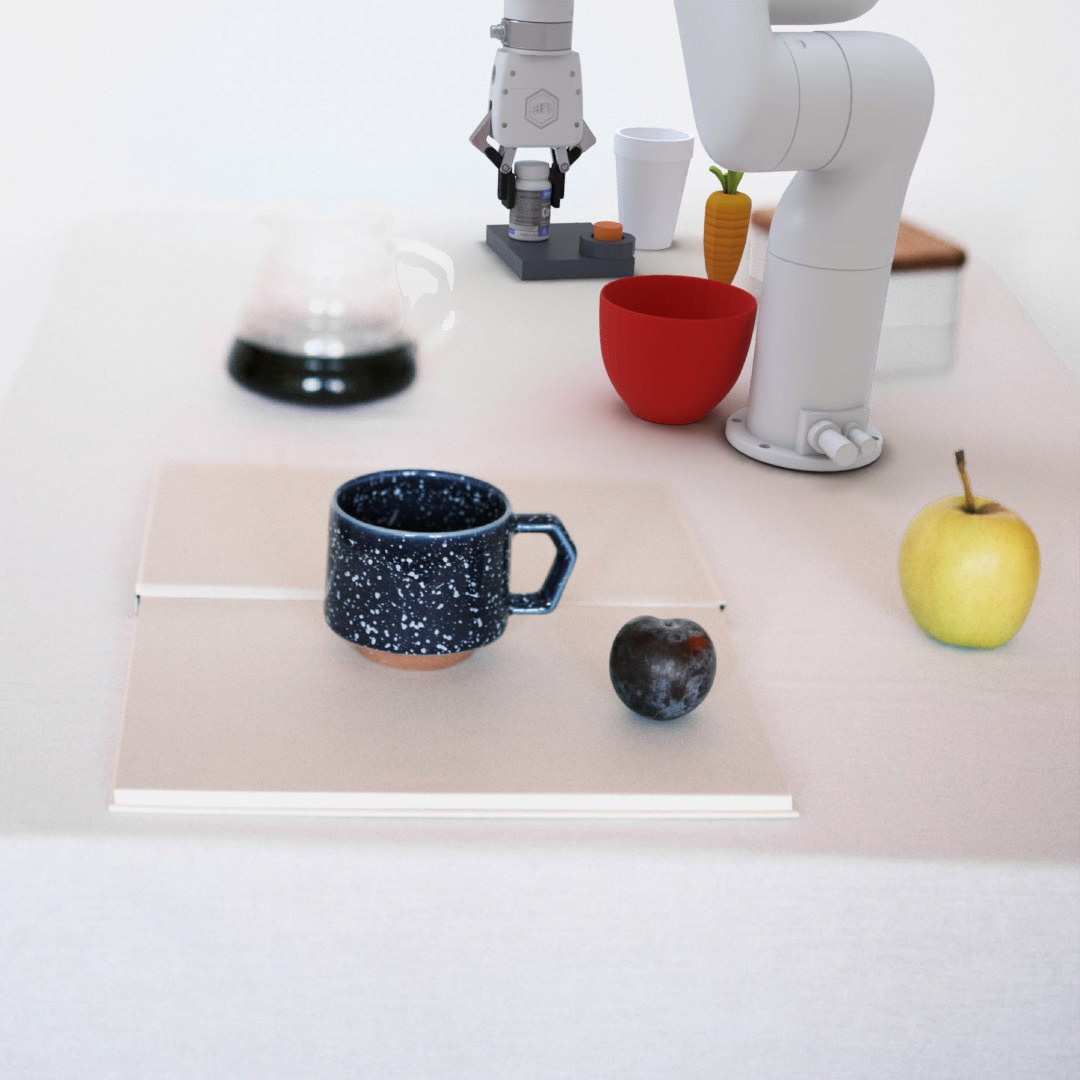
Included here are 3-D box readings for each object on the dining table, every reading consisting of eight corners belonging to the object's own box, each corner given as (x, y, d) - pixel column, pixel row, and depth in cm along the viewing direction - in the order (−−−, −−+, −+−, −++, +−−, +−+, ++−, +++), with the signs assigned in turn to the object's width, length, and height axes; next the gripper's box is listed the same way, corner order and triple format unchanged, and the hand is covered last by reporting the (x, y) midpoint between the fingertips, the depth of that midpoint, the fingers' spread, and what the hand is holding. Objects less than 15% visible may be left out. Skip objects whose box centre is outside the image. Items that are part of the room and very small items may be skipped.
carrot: (726, 308, 145) (743, 163, 138) (686, 298, 147) (700, 155, 141) (750, 298, 148) (767, 157, 142) (710, 289, 151) (725, 149, 144)
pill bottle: (549, 243, 157) (552, 168, 153) (507, 241, 157) (510, 166, 153) (549, 232, 161) (553, 159, 157) (509, 230, 161) (512, 157, 157)
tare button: (625, 243, 153) (627, 227, 152) (598, 244, 152) (599, 228, 151) (616, 236, 155) (617, 220, 155) (589, 236, 155) (590, 221, 154)
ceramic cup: (784, 392, 123) (799, 283, 118) (705, 452, 109) (718, 331, 105) (654, 362, 128) (663, 256, 124) (564, 415, 115) (571, 299, 111)
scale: (639, 278, 153) (642, 242, 152) (523, 282, 150) (524, 246, 148) (593, 240, 168) (596, 207, 166) (485, 243, 164) (486, 209, 162)
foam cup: (593, 235, 169) (601, 127, 164) (659, 231, 173) (668, 124, 167) (630, 255, 162) (639, 142, 156) (698, 250, 165) (709, 140, 160)
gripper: (469, 40, 143) (465, 215, 152) (622, 42, 148) (611, 212, 156) (453, 31, 150) (450, 199, 158) (601, 34, 154) (590, 197, 163)
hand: (530, 204), depth 157 cm, fingers closed on pill bottle, 4 cm apart
